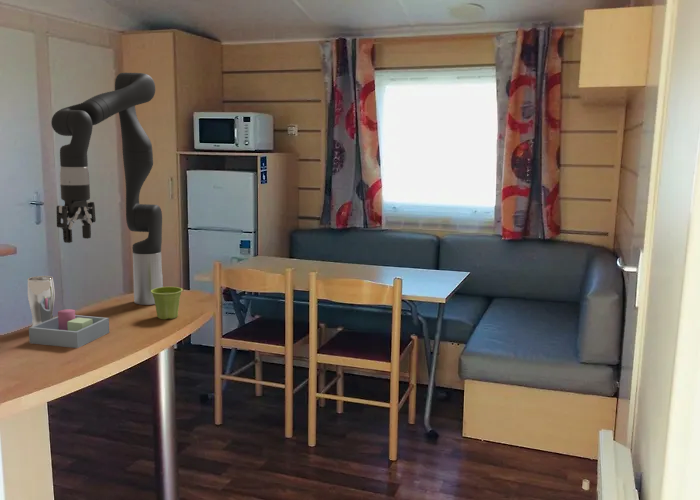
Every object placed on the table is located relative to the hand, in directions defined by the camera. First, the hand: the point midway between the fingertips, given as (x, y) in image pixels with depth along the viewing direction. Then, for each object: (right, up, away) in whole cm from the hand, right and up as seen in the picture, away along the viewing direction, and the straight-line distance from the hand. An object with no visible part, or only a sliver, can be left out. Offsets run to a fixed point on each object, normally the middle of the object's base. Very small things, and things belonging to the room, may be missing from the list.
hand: (77, 240), depth 184 cm
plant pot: (+20, -24, +19) cm, 37 cm away
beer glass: (-12, -26, +4) cm, 28 cm away
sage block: (+3, -27, -5) cm, 27 cm away
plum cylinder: (-2, -26, -1) cm, 26 cm away
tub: (0, -27, -4) cm, 27 cm away
